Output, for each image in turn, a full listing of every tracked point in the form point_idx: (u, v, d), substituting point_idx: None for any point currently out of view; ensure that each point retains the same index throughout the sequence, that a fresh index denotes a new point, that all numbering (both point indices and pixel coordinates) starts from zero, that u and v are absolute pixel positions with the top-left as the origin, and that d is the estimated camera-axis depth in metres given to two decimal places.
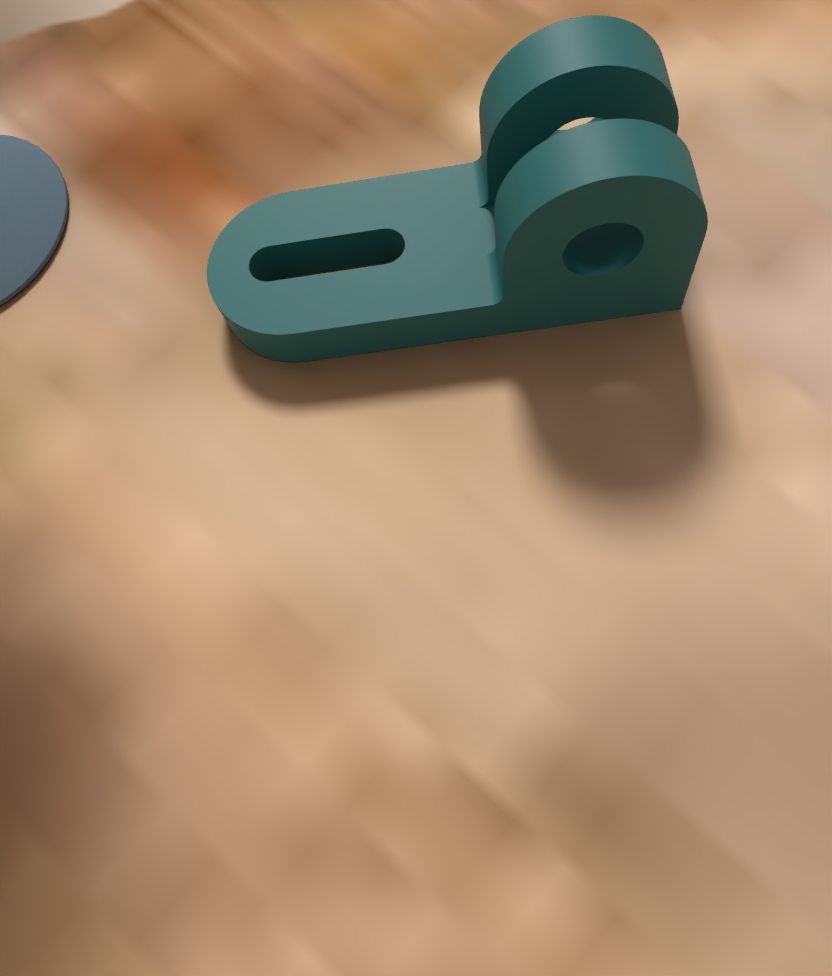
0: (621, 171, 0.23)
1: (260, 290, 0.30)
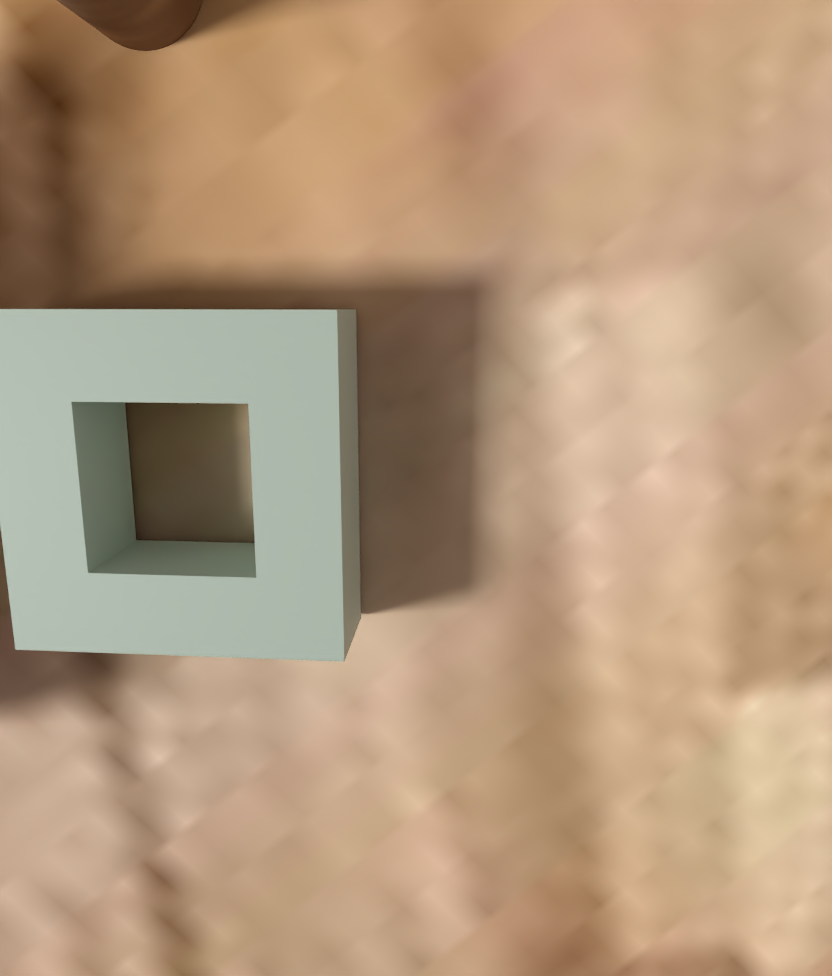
0: None
1: None
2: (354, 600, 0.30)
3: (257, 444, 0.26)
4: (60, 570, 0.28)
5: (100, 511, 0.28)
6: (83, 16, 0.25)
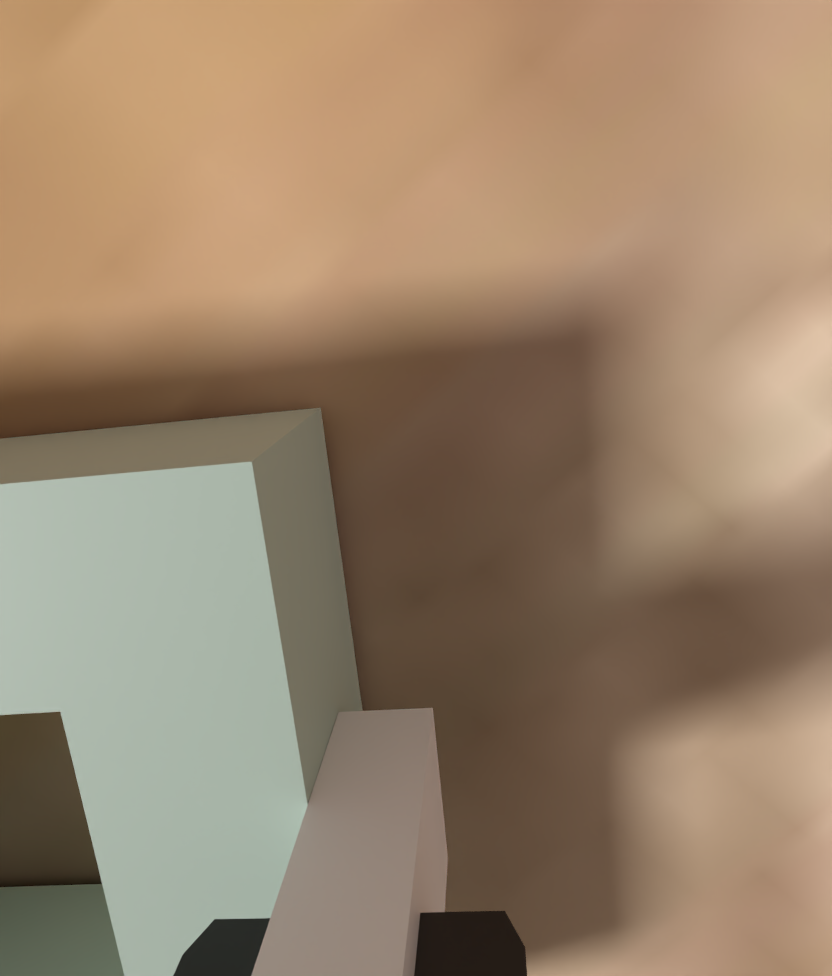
0: None
1: None
2: None
3: (99, 803, 0.10)
4: None
5: None
6: None
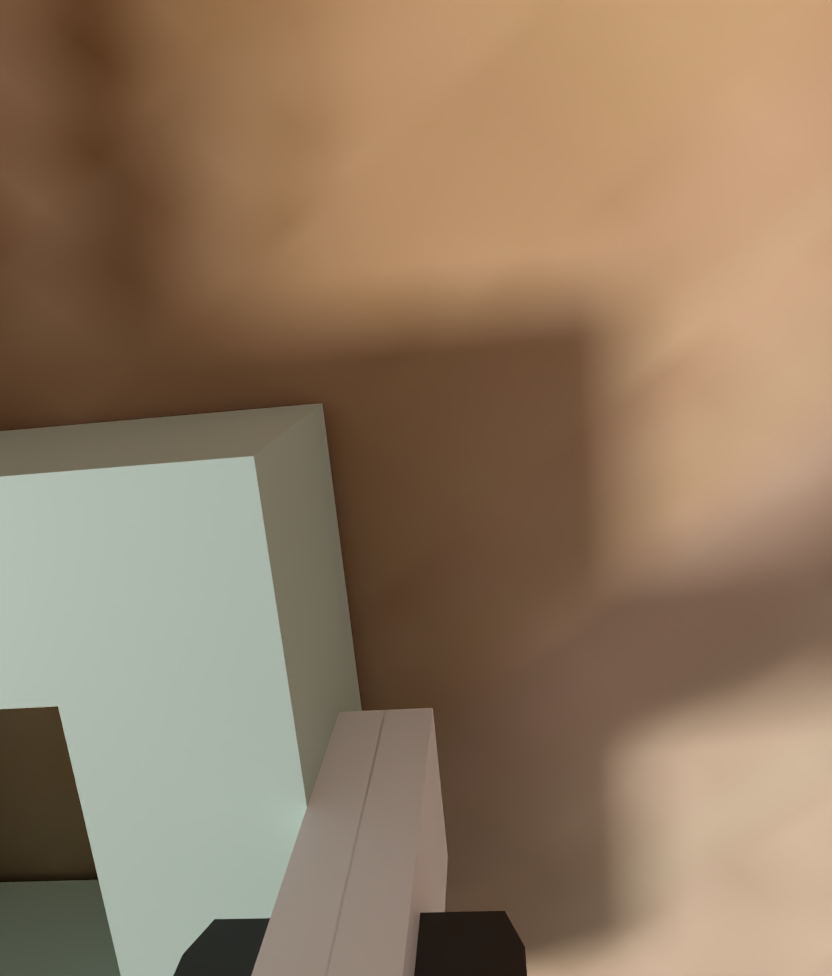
0: None
1: None
2: None
3: (96, 799, 0.10)
4: None
5: None
6: None
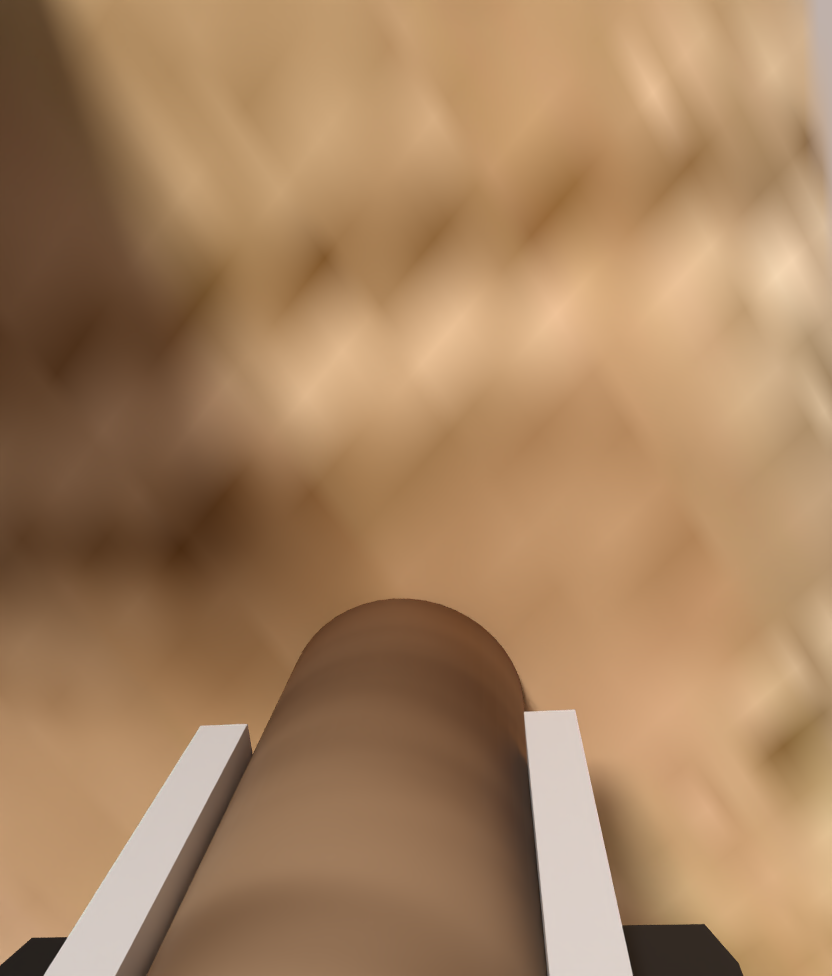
0: None
1: None
2: None
3: None
4: None
5: None
6: None
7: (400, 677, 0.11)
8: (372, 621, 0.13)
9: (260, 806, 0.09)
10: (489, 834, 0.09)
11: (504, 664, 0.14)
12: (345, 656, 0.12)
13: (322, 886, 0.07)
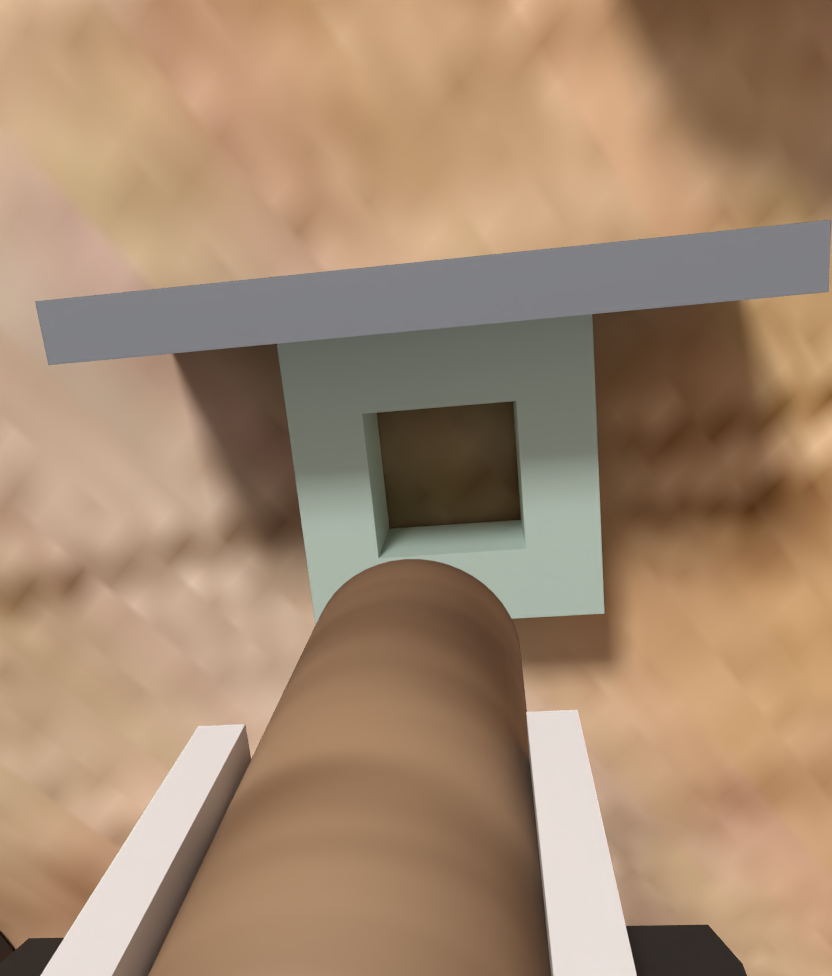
0: None
1: None
2: None
3: (492, 556, 0.32)
4: (360, 388, 0.31)
5: None
6: None
7: (414, 618, 0.13)
8: (387, 577, 0.15)
9: (300, 713, 0.11)
10: (490, 733, 0.11)
11: (503, 615, 0.16)
12: (366, 603, 0.14)
13: (357, 759, 0.09)
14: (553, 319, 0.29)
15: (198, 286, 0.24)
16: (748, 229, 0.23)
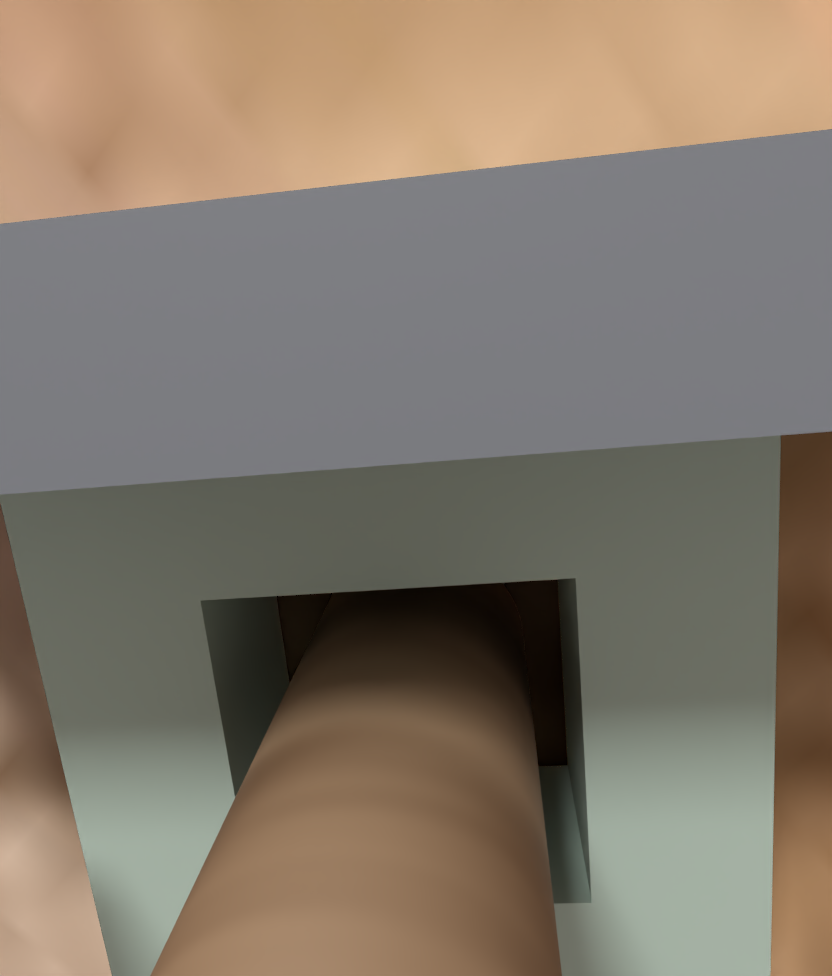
0: None
1: None
2: None
3: None
4: (194, 542, 0.12)
5: None
6: None
7: (422, 599, 0.14)
8: None
9: (315, 684, 0.12)
10: (495, 705, 0.11)
11: (507, 599, 0.16)
12: None
13: (370, 724, 0.10)
14: None
15: None
16: None
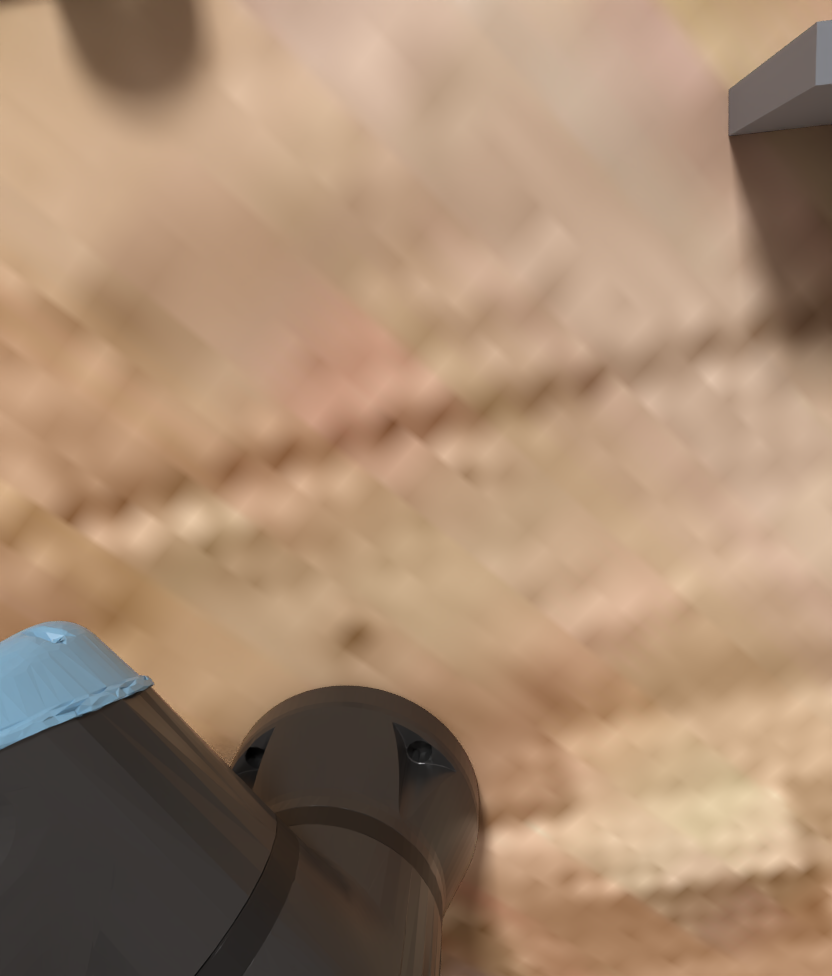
0: None
1: None
2: None
3: None
4: None
5: None
6: None
7: None
8: None
9: None
10: None
11: None
12: None
13: None
14: None
15: None
16: None
